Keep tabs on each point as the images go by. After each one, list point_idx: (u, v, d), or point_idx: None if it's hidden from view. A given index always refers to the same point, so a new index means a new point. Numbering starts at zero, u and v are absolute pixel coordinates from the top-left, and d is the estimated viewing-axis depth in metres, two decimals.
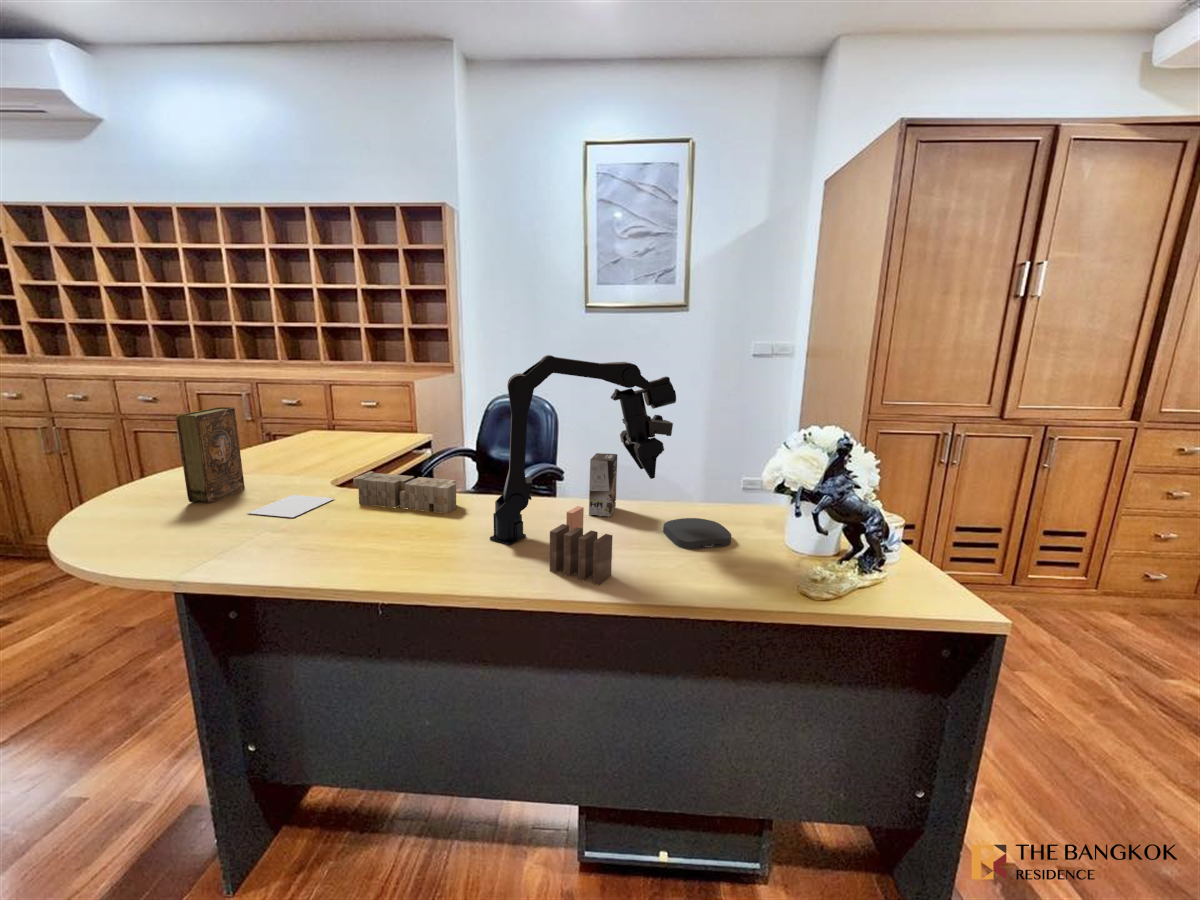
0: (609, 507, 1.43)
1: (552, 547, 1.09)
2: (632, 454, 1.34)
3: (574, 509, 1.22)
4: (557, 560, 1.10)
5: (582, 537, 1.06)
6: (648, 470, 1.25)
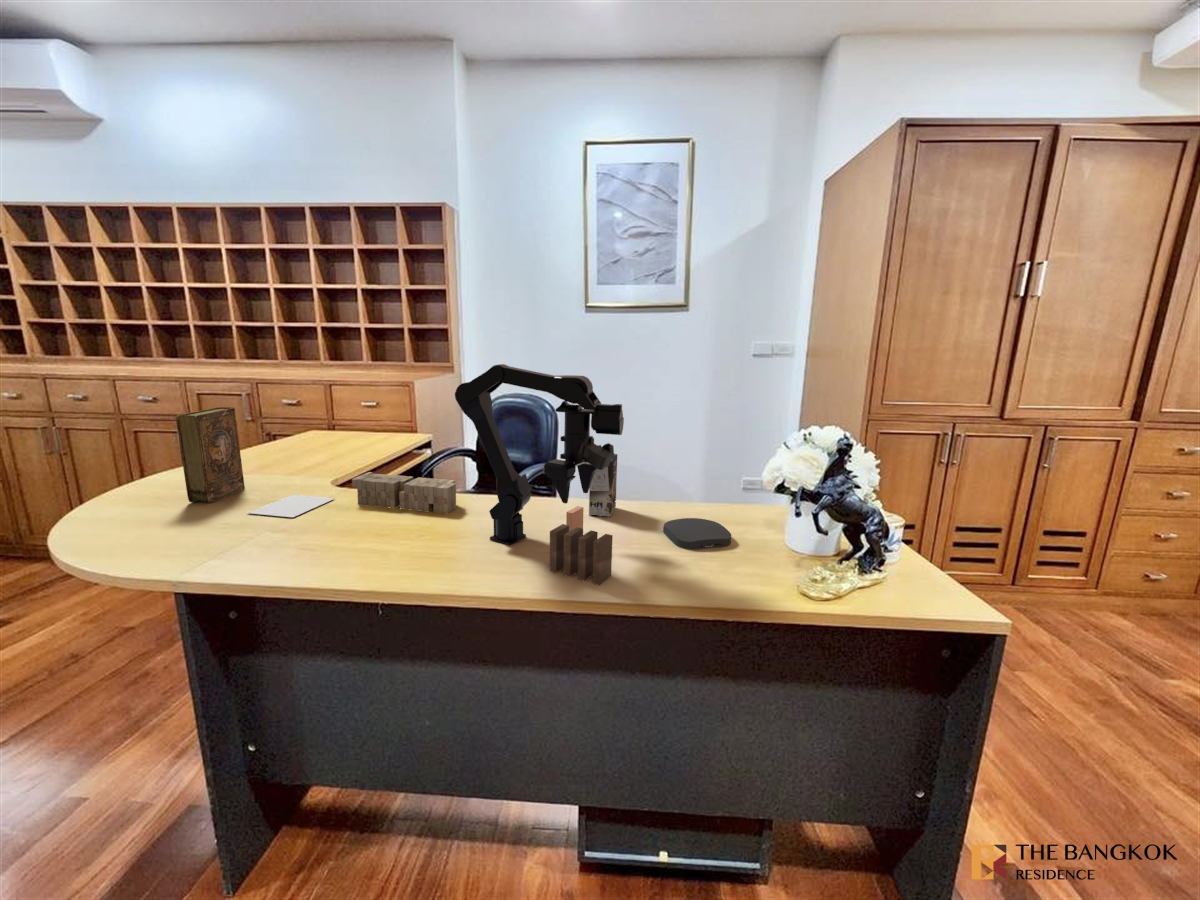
0: (609, 507, 1.43)
1: (552, 547, 1.09)
2: (580, 474, 1.26)
3: (574, 509, 1.22)
4: (557, 560, 1.10)
5: (582, 537, 1.06)
6: (559, 492, 1.17)
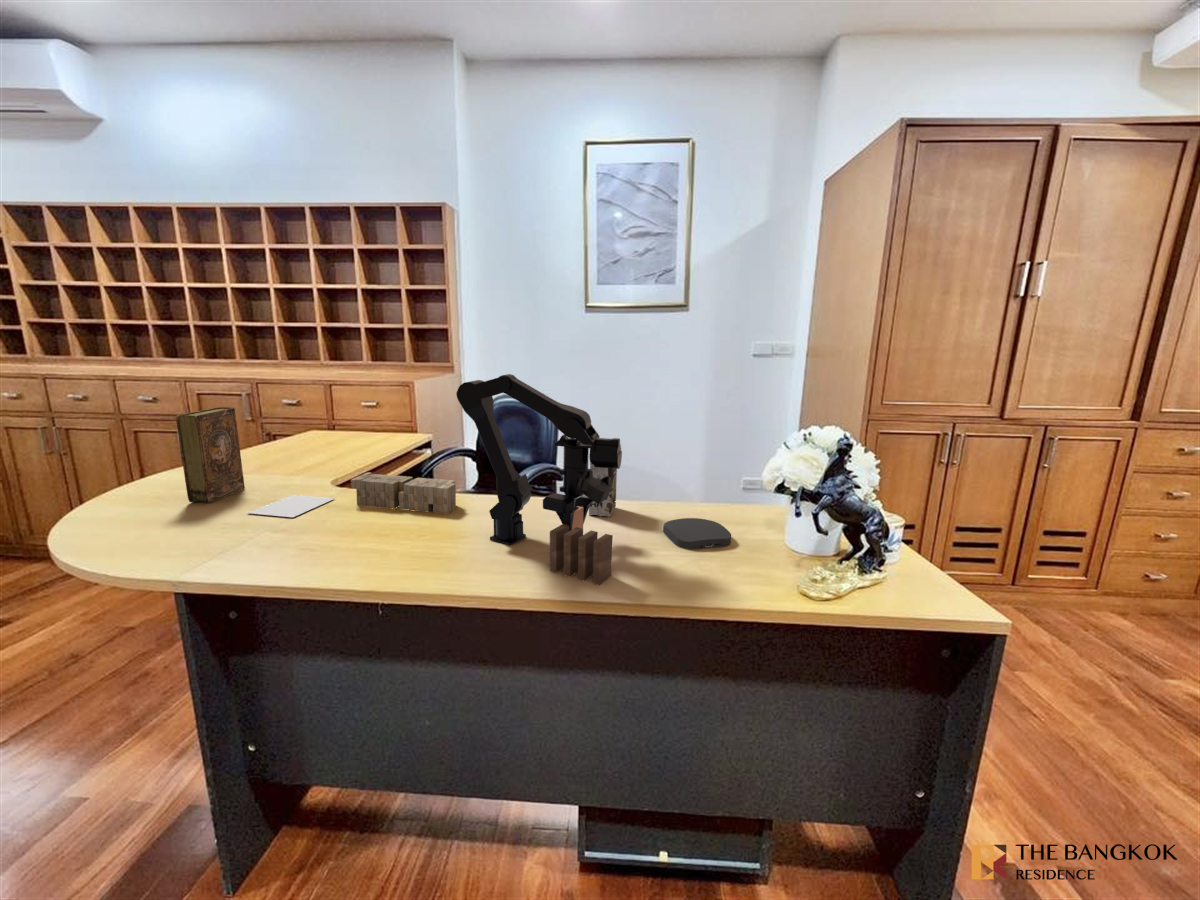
0: (609, 507, 1.43)
1: (552, 547, 1.09)
2: (575, 507, 1.26)
3: None
4: (557, 560, 1.10)
5: (582, 537, 1.06)
6: (563, 523, 1.20)
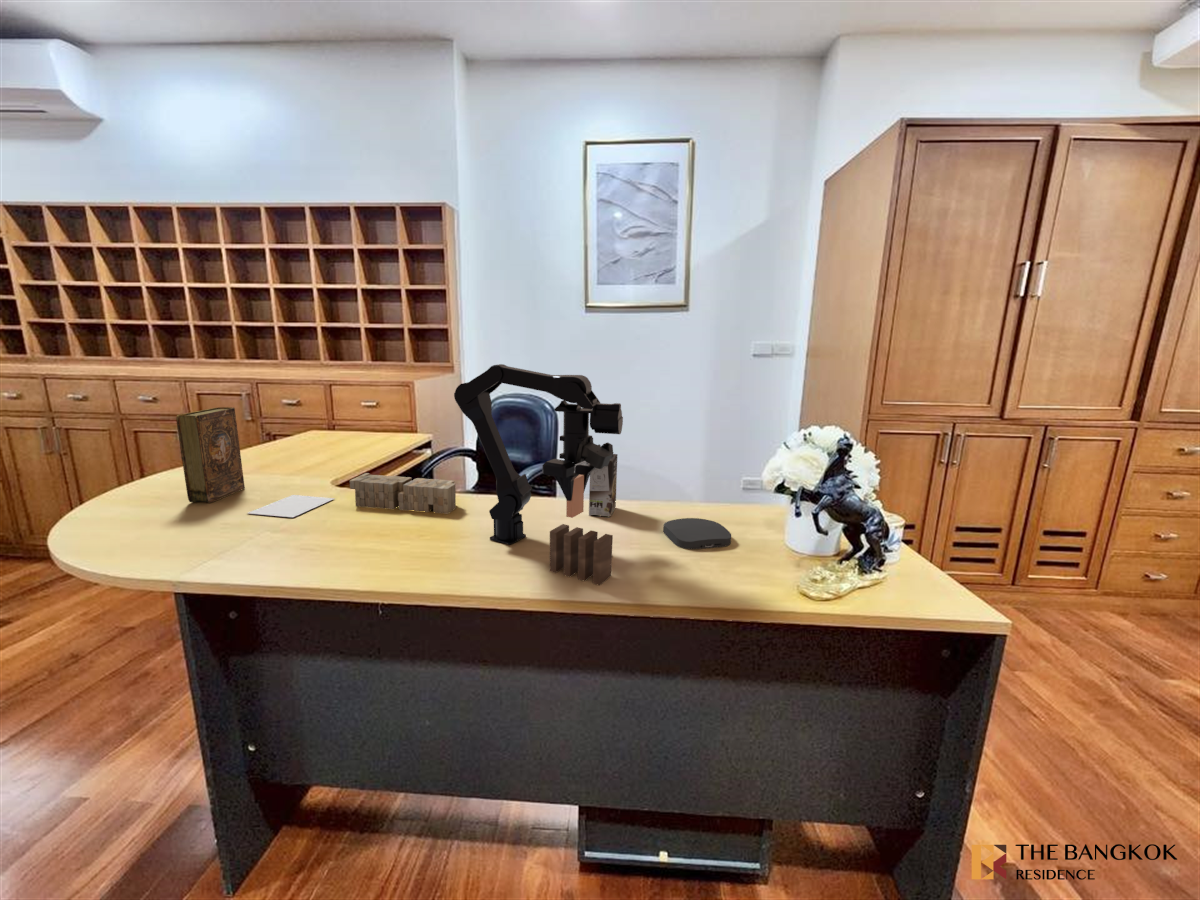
0: (609, 507, 1.43)
1: (552, 547, 1.09)
2: None
3: None
4: (557, 560, 1.10)
5: (582, 537, 1.06)
6: (563, 490, 1.18)
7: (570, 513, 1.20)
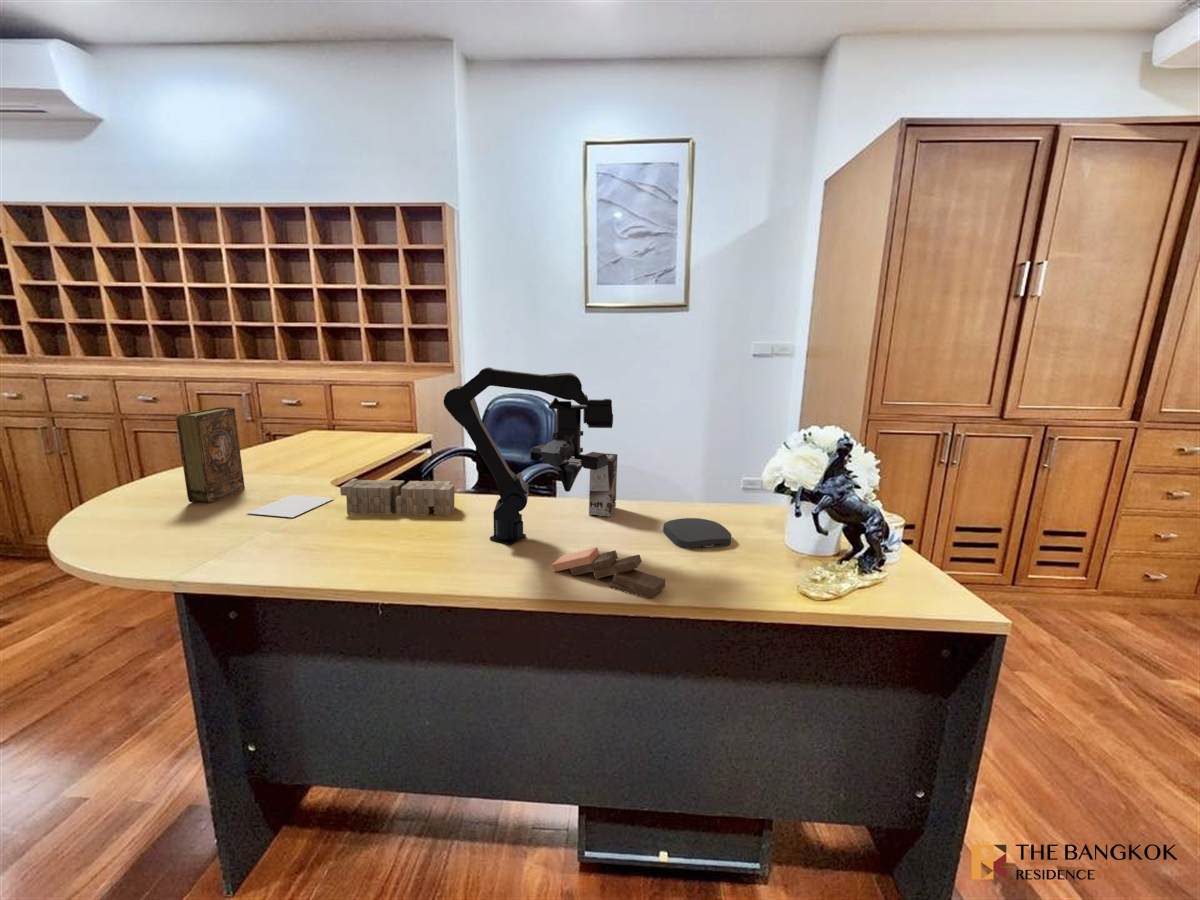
0: (609, 507, 1.43)
1: (594, 566, 1.06)
2: None
3: (593, 554, 1.09)
4: None
5: (654, 589, 1.00)
6: None
7: (557, 568, 1.10)
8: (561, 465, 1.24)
